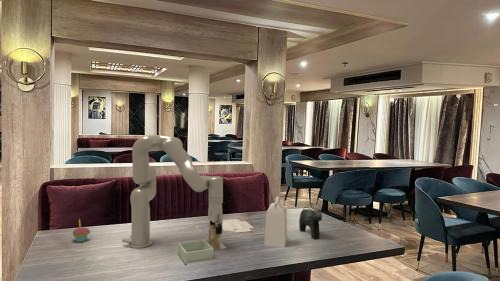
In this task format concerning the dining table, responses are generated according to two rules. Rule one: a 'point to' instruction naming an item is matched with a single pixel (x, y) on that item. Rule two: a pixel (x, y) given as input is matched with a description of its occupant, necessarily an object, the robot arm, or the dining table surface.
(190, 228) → the dining table surface
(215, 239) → the strut
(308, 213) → the dark grey animal figurine
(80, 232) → the cupcake
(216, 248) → the stud plate
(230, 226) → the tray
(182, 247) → the bin
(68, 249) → the dining table surface
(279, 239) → the milk
